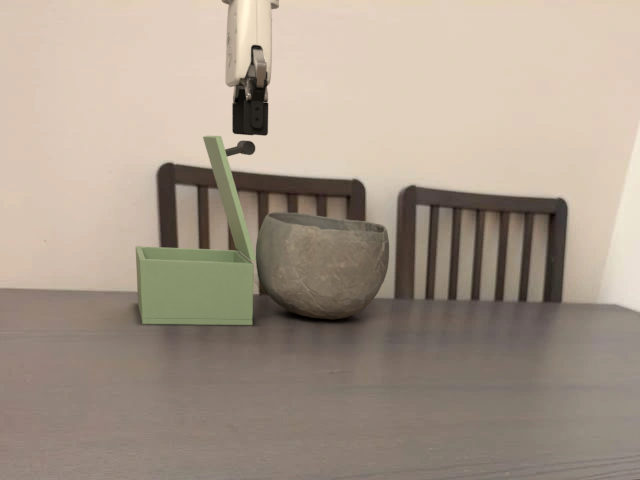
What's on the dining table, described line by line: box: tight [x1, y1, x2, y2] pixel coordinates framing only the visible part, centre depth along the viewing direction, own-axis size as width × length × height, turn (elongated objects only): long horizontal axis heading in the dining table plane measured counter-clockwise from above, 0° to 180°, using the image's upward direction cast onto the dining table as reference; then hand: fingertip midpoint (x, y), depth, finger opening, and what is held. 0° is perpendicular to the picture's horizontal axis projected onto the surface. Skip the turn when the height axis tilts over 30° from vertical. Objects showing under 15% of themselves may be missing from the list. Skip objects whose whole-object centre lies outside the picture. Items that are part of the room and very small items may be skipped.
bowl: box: [255, 211, 390, 320], centre depth 114 cm, size 20×20×15 cm
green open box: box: [135, 245, 255, 326], centre depth 109 cm, size 16×14×9 cm
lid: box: [202, 135, 256, 262], centre depth 106 cm, size 16×14×6 cm
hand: (249, 134), depth 103 cm, fingers open, 9 cm apart
